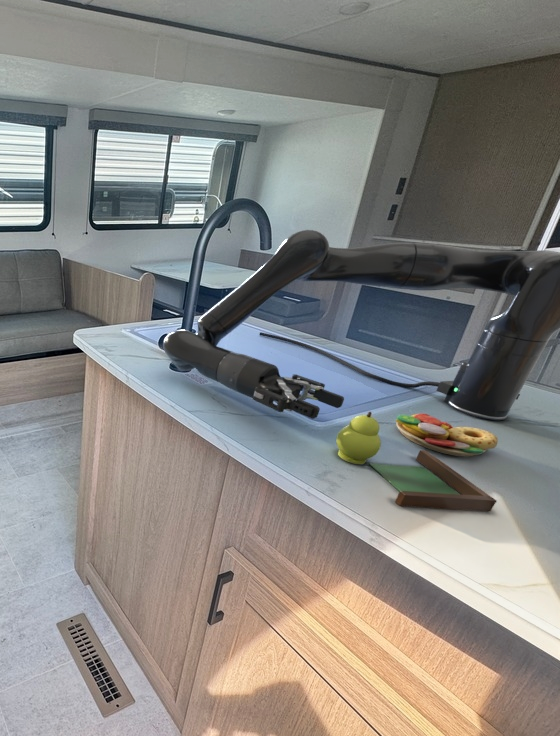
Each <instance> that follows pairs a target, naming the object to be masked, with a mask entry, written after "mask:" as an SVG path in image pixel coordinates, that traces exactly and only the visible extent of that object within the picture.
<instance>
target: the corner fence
mask: <svg viewBox="0 0 560 736" xmlns="http://www.w3.org/2000/svg"><path fill="white" fill-rule="evenodd" d="M415 461H417V462H418V463H420V464H421V465H422V466H413V465H397V464H383V463H382V464H380V463H369V466H370V467H371V468H372V469H374V470H375V472H377V473H378V474H379V475H380V476H382V478H384V480H386V481H387V482H388V483H389V484H390V485H392V486H393V487H394V488H395V489H396V490H397V491H398V492H399V493H398V494H397V497H396V499H395V503H396V504H397V505H398V506H399V507H411V508H412V507H413V508H428V509H441V510H442V509H443V510H456V511H457V510H459V511H473V512H474V511H476V512H491V511H492V509H493V508H494V506H495V505H496V503H497V502H498V500H497V499H495V498H494V497H493V496H491V495H489V494H488V493H486V491H485V490H482V489H481V488H480V487H478V486H477V485H476V484H474V483H473V482H472V481H470V480H469V479H467V478H466V477H465V476H463V475H462V474H460V473H459V472H457V471H456V470H454V469H453V468H452V467H450V466H449V465H447V464H446V463H444V462H443V461H442V460H440V459H439V458H437V457H436V456H435V455H433V454H432V453H431V452H429V451H428V450H427V449H426V450H425V449H419V452H418V454H417V455H416V458H415Z"/></svg>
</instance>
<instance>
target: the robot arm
mask: <svg viewBox="0 0 560 736" xmlns="http://www.w3.org/2000/svg"><path fill="white" fill-rule="evenodd" d="M329 243H330V242H329V240H328V239H327V237H326V235H324V234H323V233H322V232H319V231H317V230H314V229H305V230H300V231H297V232H295V233H292V234H291V235H290V236H288V237H287V238H286V239H285V240H284V241H283V242H282V243H281V245H280V246H279V247H278V249H277V250H276V252H275V253H274V254H273V255H272V256H271V257H270V259H269V260H267V261H266V262H265V263H264V264H263V266H261V267H260V268H259V269H257V271H256V272H254V273H253V274H252V275H251V276H250V277H249V278H247V279H246V280H245V281H244V282H243V283H241V284H239V286H237V287H236V288H234V289H233V290H232V291H230V292H229V293H228V294H227V295H226V296H224V297H223V298H221V300H219V301H217V302H216V303H215V304H214V305H213V306H212V307H210V309H208V310H207V311H206V312H205V313H203V314H202V315H201V316H200V317H199V318H198V319H197V324H196V325H197V332H196V333H194V332H192V331H190V330H188V329H187V330H186V329H176V330H173V331H172V330H171V332H169V333H168V334H166V336H165V337H164V338H163V342H162V348H163V352H164V353H165V355H166V356H167V357H168V358H169V360H170V361H171V362H172V364H173V365H174V366H175V368H177V369H178V370H180V371H184V372H186V371H187V372H188V371H191V370H194V369H196V371H198V373H200V374H201V375H202V376H203V377H205V378H207V379H210V380H212V381H215V382H217V383H219V384H221V385H223V386H225V387H227V388H228V389H230V390H232V391H235V392H237V393H239V394H241V395H243V396H246V397H248V398H250V399H252V400H253V401H255V402H257V403H258V404H259V403H260V404H261V405H263V406H266V407H268V408H270V409H272V410H274V411H276V412H279V413H284V411H286V412H294V413H297V414H300V415H302V416H305V417H307V418H309V419H311V420H314V419H316V418H318V416H319V413H320V409H321V408H320V407H319V406H318V405H315V404H313V403H310V402H308V401H306V400H307V399H308V400H313V401H318V402H320V403H323V404H326V405H327V406H331V407H333V408H336V409H339V408H341V407H343V404H344V401H345V397H344V396H343V395H340V394H338V393H335V392H332V391H330V390H327V389H325V387H326V384H325V383H323V382H319V381H316V380H314V379H311V378H308V377H305V376H302V375H300V374H299V375H298V374H292V376H291V377H289V376H282V375H280V372H279V371H280V370H279V368H278V366H276V365H275V364H273V363H269V362H267V361H265V360H262V359H258V358H256V357H252V356H249V355H248V354H243V353H239V352H234V351H232V350H229V349H226V348H223V347H220V346H218V344H219V343H220V342H221V341H222V340H223V339H224V338H225V337H227V336H228V335H229V334H231V333H232V332H233V331H234V330H235V329H237V328H238V327H240V325H242V324H243V323H244V322H245V321H246V320H248V319H249V318H250V317H251V316H252V315H253V314H254V313H255V312H256V311H257V310H259V309H260V308H261V307H262V306H263V305H265V303H266V302H267V301H268V300H270V299H271V298H272V297H274V296H275V295H276V294H277V293H278V292H280V291H281V290H282V289H284V288H285V287H287V286H288V285H289V284H291V283H293V282H337V283H347V284H355V285H361V286H362V285H363V286H373V287H381V288H389V289H390V288H391V289H397V290H411V291H441V290H452V289H474V290H475V289H477V290H484V291H490V292H495V293H500V294H504V295H510V296H513V297H514V298H513V300H512V301H511V304H510V305H509V307H508V308H507V309H506V310H505V311H504V312H502V313H499V314H496V315H493V316H491V317H490V318H489V319H488V321H487V322H486V325H485V327H484V329H483V330H482V333H481V335H480V337H479V339H478V342H477V343H476V346H475V348H474V350H473V352H472V354H471V356H470V358H469V360H468V361H463V362H462V363H461V364H460V366H459V369H458V370H457V373H456V374H455V376H454V379H453V380H444V381H439V382H438V381H431V380H430V381H427V380H426V381H420V382H416V383H405V382H400V381H396V380H395V381H394V380H391V379H387V378H385V377H383V376H379V375H377V374H373V373H370V372H367V371H365V370H364V369H361V368H359V367H358V366H356V365H354V364H352V363H349V362H348V361H346V360H344V359H341V358H340V357H338V356H335V355H334V354H331V353H329V352H327V351H325V350H323V349H320V348H318V347H315V346H313V345H310V344H307V343H304V342H300V341H298V340H294V339H290V338H286V337H284V336H279V335H275V334H270V333H265V332H259V336H262V337H267V338H271V339H275V340H279V341H283V342H287V343H290V344H294V345H296V346H300V347H303V348H306V349H309V350H312V351H314V352H316V353H319V354H321V355H323V356H325V357H327V358H330V359H332V360H334V361H336V362H337V363H339V364H341V365H344V366H345V367H348V368H349V369H351V370H353V371H355V372H357V373H358V374H361V375H363V376H365V377H367V378H371V379H374V380H376V381H379V382H382V383H386V384H388V385H392V386H397V387H400V388H406V389H407V388H409V389H416V388H419V387H424V386H430V387H431V386H432V387H436V390H435V391H436V392H438V393H441V394H443V395H445V398H444V399H443V402H444V403H446V404H447V405H448V406H450V407H451V408H453V409H454V410H457V411H458V412H460V413H463V414H466V415H469V416H472V417H476V418H480V419H483V420H489V421H504V420H506V418H507V417H508V414H509V413H510V411H511V408H512V407H513V405H514V403H515V402H516V400H517V401H518V400H519V397H520V396H521V394H520V393H521V391H522V389H523V388H524V385H525V384H526V382H527V380H528V379H529V376H530V375H531V374H532V371H533V370H534V368H535V366H536V365H537V363H538V361H539V359H540V357H541V355H542V353H543V351H544V350H545V348H546V346H547V345H548V344H549V341H550V339H551V338H552V337H553V335H554V334H555V333H556V332H558V330H560V251H555V250H547V249H546V250H543V249H542V250H515V251H514V250H513V251H487V250H486V251H485V250H475V249H470V248H465V247H460V246H453V245H446V244H438V243H425V242H410V241H409V242H408V241H405V242H401V241H399V242H385V243H377V244H373V245H364V246H359V247H333V246H332V247H331V246H330V244H329Z"/></svg>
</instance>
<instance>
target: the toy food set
mask: <svg viewBox="0 0 560 736" xmlns="http://www.w3.org/2000/svg"><path fill="white" fill-rule="evenodd" d="M395 422H396V427H397V428H398V430H399V432H400V433H401V434H402V435H403V436H404V437H405V438H406V439H408V440H409V441H411V442H413V443H415V444H416V445H419V446H421V447H423V448H426V449H429V450H431V451H435V452H438V453H441V454H445V455H449V456H455V457H473V456H474V457H475V456H477V455H481V454H484V453H485V452H486V450H491V449H495V448H496V447H497V445H498V442H499V439H498V437H497V436H496V435H495V434H494V433H492V432H490V431H487V430H484V429H481V428H478V427H470V426H458V427H455V426H452V425H451V424H450V423H448V422H445V421H441V420H440V419H438V418H436V417H434V416H431V415H430V414H427V413H416V414H412V415H408V414H398V415H397V417H396V420H395Z"/></svg>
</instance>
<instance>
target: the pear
mask: <svg viewBox="0 0 560 736" xmlns="http://www.w3.org/2000/svg"><path fill="white" fill-rule="evenodd" d="M379 432H380V423H379V421H378V420H377V419H376V418H374V417H373V416H372V411H367V414H359V415H356V416H355V417H353V418H351V420H350V421H349V424H348V425H345V426H344V427H342V428H341V429H340V430H339V431H338V433H337V435H336V440H335V441H336V446H337V448H338V449H339V450H338V452H337V455H338V457H339V458H341V459H342V460H343V461H345V462H347V463H350V464H354V465H364V464H366V462H367V460H368V459H371V458H373V457H375V456H376V455H377V454H378V452H379V451H380V449H381V447H382V446H381V445H382V441H381V437H380V435H379Z"/></svg>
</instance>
